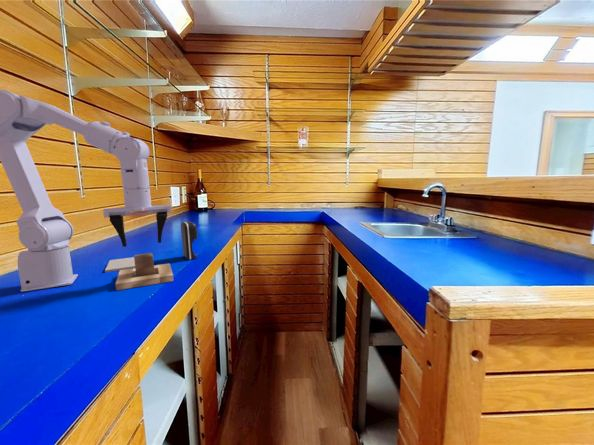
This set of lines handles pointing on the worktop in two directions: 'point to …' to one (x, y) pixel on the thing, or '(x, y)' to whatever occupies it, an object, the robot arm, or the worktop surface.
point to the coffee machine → (188, 238)
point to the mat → (120, 264)
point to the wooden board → (144, 277)
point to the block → (144, 264)
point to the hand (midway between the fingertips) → (142, 243)
